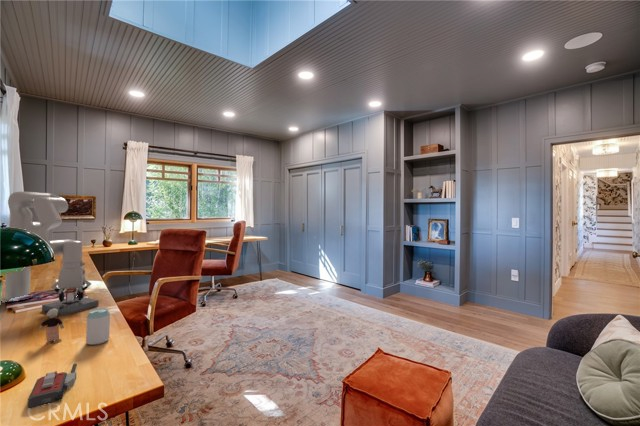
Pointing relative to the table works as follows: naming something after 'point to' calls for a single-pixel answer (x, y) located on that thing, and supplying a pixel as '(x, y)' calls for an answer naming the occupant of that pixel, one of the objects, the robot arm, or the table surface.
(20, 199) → the robot arm
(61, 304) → the socket block
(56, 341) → the grandmother figurine
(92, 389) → the table surface
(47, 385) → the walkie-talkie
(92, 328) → the can
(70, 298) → the pin
